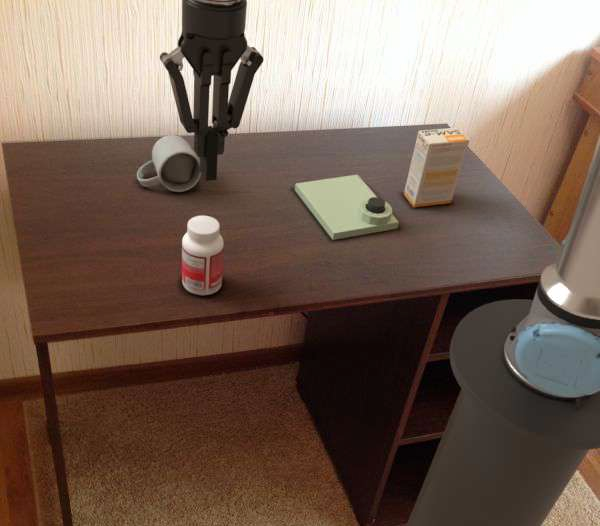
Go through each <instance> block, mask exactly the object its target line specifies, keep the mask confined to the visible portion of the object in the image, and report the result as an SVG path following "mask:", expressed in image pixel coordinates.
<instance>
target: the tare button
mask: <svg viewBox="0 0 600 526" xmlns="http://www.w3.org/2000/svg"><path fill="white" fill-rule="evenodd" d="M385 202H386V201H385V200H384V199H383V198H381V197H378V196H377V197H372V198H370V199H369V200H368V205H367V210H368V211H370V212H372V213H376V214H380V213H383V211H384V207H385Z"/></svg>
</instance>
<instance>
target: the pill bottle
mask: <svg viewBox="0 0 600 526" xmlns="http://www.w3.org/2000/svg"><path fill="white" fill-rule="evenodd" d="M220 228H221V227H220V222H219V221H218V219H217V218H215V217H212V216H210V215H196V216H193V217H191V218H190V219H189V220H188V221H187V229H186V233H185V234H184V235H183V237H182V240H181V278H182V279H181V281H182V286H183V287H184V289H185V290H186V291H187V292H188V293H191V294H193V295H197V296H209V295H213V294H215V293H217V292H218V291H219V290H220V289H221V287H222V286H223V285H222V284H223V273H224V272H223V271H224V270H223V269H224V268H223V267H224V247H225V245H224V243H225V242H224V239H223V237H222V235H221V234H220V230H221V229H220Z"/></svg>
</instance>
